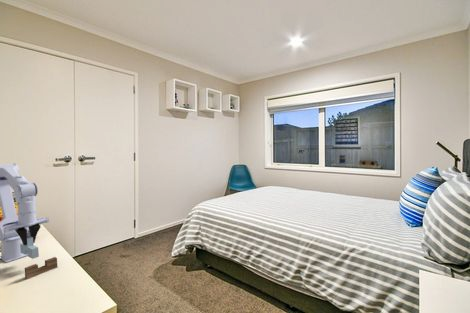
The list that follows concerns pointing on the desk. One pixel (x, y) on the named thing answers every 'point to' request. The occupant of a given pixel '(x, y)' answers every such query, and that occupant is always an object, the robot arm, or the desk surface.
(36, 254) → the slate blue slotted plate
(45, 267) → the brown notched wooden bar
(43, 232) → the desk surface
